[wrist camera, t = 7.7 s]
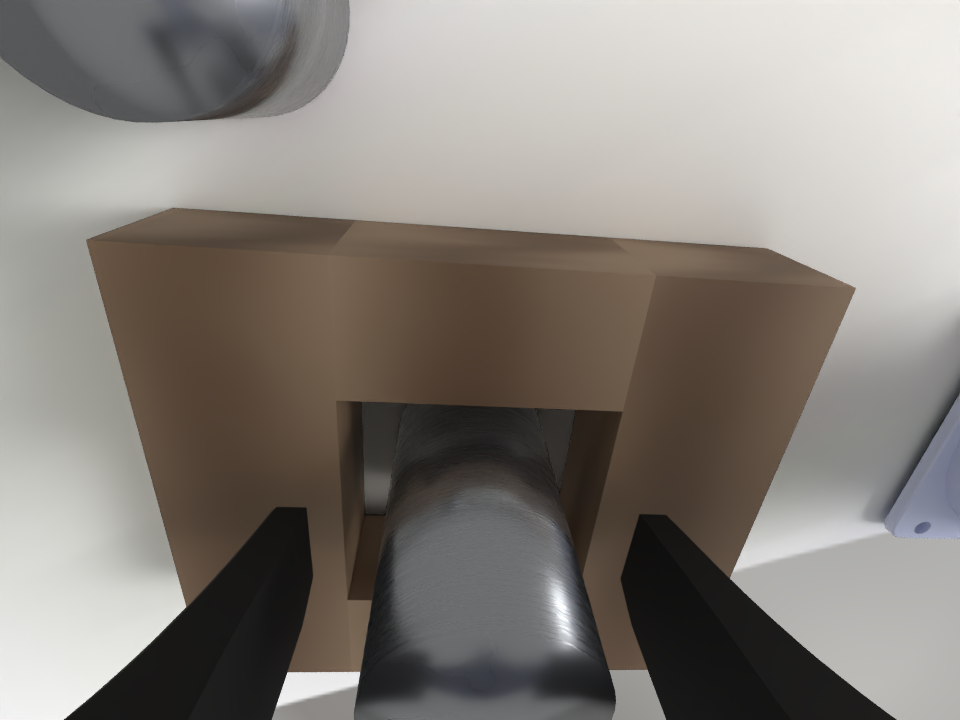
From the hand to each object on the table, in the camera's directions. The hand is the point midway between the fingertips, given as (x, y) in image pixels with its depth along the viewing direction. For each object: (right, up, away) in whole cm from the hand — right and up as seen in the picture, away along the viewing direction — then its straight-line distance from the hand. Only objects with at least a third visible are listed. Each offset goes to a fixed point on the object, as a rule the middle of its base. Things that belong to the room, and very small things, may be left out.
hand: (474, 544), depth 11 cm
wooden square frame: (0, +2, +3) cm, 4 cm away
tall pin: (0, +2, +3) cm, 4 cm away
